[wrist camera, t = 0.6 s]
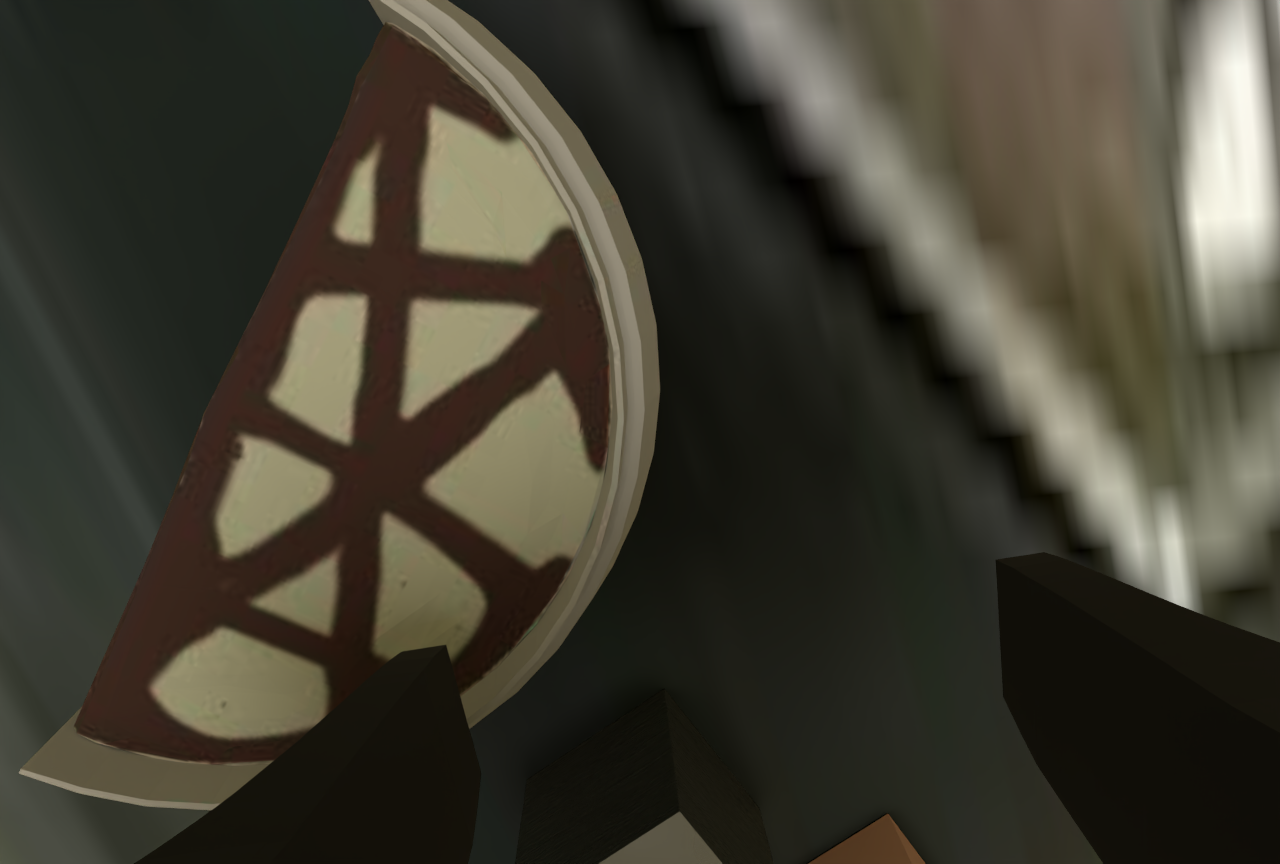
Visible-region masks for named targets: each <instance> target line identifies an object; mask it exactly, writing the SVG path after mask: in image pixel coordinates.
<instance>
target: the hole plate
mask: <svg viewBox="0 0 1280 864" xmlns="http://www.w3.org/2000/svg"><path fill="white" fill-rule="evenodd" d="M808 864H925V862H924V861H923V860H922V858H921V857H920V856H919V854H918V853H917V852H916V850H915V849H914V848H913V846H912V845H911V844H910V842H909V841H908V840H907V838H906V837H905V836H904V834H903V833H902V832H901V830H900V829H899V828H898V826H897V825H896V824H895V822H894V821H893V820H892V818H891V817H890V816H889V814H887V815H885V816H883V817H882V818H880V819H879V820H877V821H875V822H874V823H872V824H871V825H869V826H867V827H866V828H864V829H863V830H861V831H859V832H858V833H856V834H855V835H853V836H851V837H850V838H848V839H847V840H845V841H843V842H842V843H840V844H839V845H837V846H835V847H834V848H832V849H831V850H829V851H827V852H826V853H824V854H823V855H821V856H819V857H818V858H816V859H815V860H813V861H811V862H810V863H808Z"/></svg>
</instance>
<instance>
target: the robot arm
mask: <svg viewBox="0 0 1280 864" xmlns="http://www.w3.org/2000/svg"><path fill="white" fill-rule="evenodd" d="M996 573H997V591H998V609H999V628H1000V646H1001V665H1002V683H1003V697H1004V699H1005V701H1006V703H1007V705H1008V708H1009V710H1010V712H1011V714H1012V716H1013V718H1014V720H1015V722H1016V724H1017V726H1018V728H1019V730H1020V733H1021V735H1022V737H1023V738H1024V740H1025V742H1026V744H1027V746H1028V748H1029V750H1030V752H1031V754H1032V756H1033V758H1034V760H1035V762H1036V764H1037V765H1038V767H1039V768H1040V770H1041V772H1042V773H1043V775H1044V776H1045V778H1046V779H1047V781H1048V782H1049V784H1050V785H1051V787H1052V788H1053V790H1054V791H1055V793H1056V794H1057V796H1058V797H1059V799H1060V800H1061V802H1062V803H1063V805H1064V806H1065V808H1066V809H1067V811H1068V812H1069V814H1070V815H1071V817H1072V818H1073V820H1074V821H1075V823H1076V824H1077V825H1078V827H1079V828H1080V830H1081V831H1082V833H1083V834H1084V836H1085V837H1086V839H1087V840H1088V842H1089V843H1090V845H1091V846H1092V847H1093V849H1094V850H1095V852H1096V853H1097V855H1098V856H1099V858H1100V859H1101V861H1102V862H1103V864H1280V643H1279V642H1276V641H1274V640H1271V639H1268V638H1265V637H1262V636H1259V635H1257V634H1254V633H1251V632H1248V631H1245V630H1242V629H1240V628H1237V627H1234V626H1231V625H1228V624H1226V623H1223V622H1220V621H1218V620H1215V619H1212V618H1210V617H1207V616H1204V615H1202V614H1199V613H1197V612H1194V611H1192V610H1189V609H1187V608H1184V607H1181V606H1179V605H1176V604H1174V603H1172V602H1169V601H1167V600H1164V599H1162V598H1159V597H1157V596H1154V595H1152V594H1149V593H1147V592H1145V591H1142V590H1140V589H1137V588H1135V587H1133V586H1130V585H1128V584H1125V583H1123V582H1121V581H1118V580H1116V579H1113V578H1111V577H1109V576H1106V575H1104V574H1101V573H1099V572H1097V571H1094V570H1092V569H1089V568H1087V567H1084V566H1082V565H1079V564H1077V563H1074V562H1071V561H1069V560H1066V559H1063V558H1061V557H1058V556H1055V555H1051V554H1048V553H1044V552H1043V553H1037V554H1030V555H1024V556H1018V557H1011V558H1005V559H998V560H996ZM480 779H481V771H480V767H479V763H478V760H477V756H476V752H475V749H474V745H473V741H472V738H471V734H470V730H469V727H468V723H467V719H466V716H465V712H464V708H463V704H462V701H461V697H460V693H459V690H458V686H457V682H456V679H455V675H454V671H453V668H452V664H451V660H450V657H449V653H448V649H447V646H446V645H440V646H434V647H427V648H421V649H414V650H408V651H402V652H400V653H399V654H397V655H396V656H395V657H393V658H392V659H391V660H389V661H388V662H387V663H386V664H384V665H383V666H382V667H381V668H380V669H378V670H377V671H376V672H375V673H374V674H373V675H371V676H370V677H369V678H368V679H367V680H366V681H365V682H363V683H362V684H361V685H360V686H359V687H358V688H357V689H356V690H355V691H353V692H352V693H351V694H350V695H349V696H348V697H347V698H346V699H345V700H343V701H342V702H341V703H340V704H339V705H338V706H337V707H336V708H334V709H333V710H332V711H331V712H330V713H329V714H328V715H327V716H325V717H324V718H323V719H322V720H321V721H320V722H319V723H317V724H316V725H315V726H314V727H313V728H312V729H311V730H310V731H308V732H307V733H306V734H305V735H304V736H303V737H302V738H301V739H299V740H298V741H297V742H296V743H295V744H293V745H292V746H291V747H290V748H289V749H287V750H286V751H285V752H284V753H283V754H281V755H280V756H279V757H278V758H276V759H275V760H274V761H273V762H272V763H270V764H269V765H268V766H267V767H265V768H264V769H263V770H262V771H261V772H259V773H258V774H257V775H256V776H255V777H253V778H252V779H251V780H250V781H248V782H247V783H246V784H245V785H244V786H242V787H241V788H240V789H239V790H237V791H236V792H235V793H234V794H232V795H231V796H230V797H228V798H227V799H226V800H225V801H223V802H222V803H221V804H219V805H218V806H217V807H215V808H214V809H213V810H211V811H210V812H208V813H207V814H206V815H204V816H203V817H202V818H200V819H199V820H198V821H196V822H195V823H193V824H192V825H190V826H189V827H188V828H186V829H185V830H183V831H182V832H180V833H179V834H177V835H176V836H175V837H173V838H172V839H170V840H169V841H167V842H166V843H164V844H163V845H162V846H160V847H159V848H157V849H156V850H154V851H153V852H151V853H150V854H148V855H147V856H145V857H144V858H142V859H141V860H139V861H137V862H136V863H134V864H468V861H469V857H470V853H471V849H472V845H473V837H474V830H475V822H476V815H477V807H478V797H479V788H480Z"/></svg>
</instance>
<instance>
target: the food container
mask: <svg viewBox="0 0 1280 864" xmlns="http://www.w3.org/2000/svg"><path fill="white" fill-rule="evenodd" d="M369 2H370V3H371V5H372V7H373V8H374V10H375V12H376V13H377V15H378V16H379V18H380V20H381V21H382V23H383V25H384V26H383V28H382V29H381V31H380V33H379V35H378V36H377V38H376V41H375V43H374V46H373V48H372V51H371V53H370V55H369V57H368V59H367V60H366V62H365V64H364V65H363V67H362V68H361V70H360V72H359V73H358V75H357V77H356V80H355V84H354V88H353V92H352V95H351V99H350V103H349V106H348V108H347V111H346V113H345V116H344V118H343V120H342V123H341V125H340V128H339V130H338V133H337V135H336V138H335V140H334V143H333V145H332V147H331V149H330V151H329V153H328V156H327V158H326V160H325V162H324V164H323V167H322V169H321V171H320V173H319V175H318V178H317V180H316V182H315V184H314V186H313V188H312V191H311V193H310V195H309V197H308V199H307V202H306V204H305V206H304V208H303V210H302V212H301V215H300V217H299V219H298V221H297V223H296V225H295V228H294V230H293V232H292V234H291V236H290V238H289V240H288V242H287V245H286V247H285V249H284V251H283V253H282V255H281V257H280V259H279V262H278V264H277V266H276V268H275V270H274V272H273V274H272V276H271V279H270V281H269V283H268V285H267V287H266V289H265V291H264V294H263V296H262V298H261V300H260V302H259V304H258V306H257V308H256V310H255V312H254V314H253V316H252V318H251V320H250V322H249V324H248V326H247V328H246V330H245V332H244V334H243V336H242V338H241V340H240V342H239V344H238V346H237V348H236V350H235V352H234V354H233V356H232V358H231V360H230V362H229V364H228V366H227V368H226V370H225V372H224V374H223V376H222V378H221V380H220V382H219V384H218V386H217V388H216V390H215V392H214V394H213V396H212V398H211V400H210V402H209V404H208V406H207V409H206V411H205V413H204V415H203V418H202V420H201V423H200V425H199V428H198V431H197V433H196V436H195V438H194V441H193V444H192V446H191V449H190V451H189V454H188V457H187V459H186V462H185V464H184V467H183V470H182V472H181V475H180V478H179V480H178V483H177V486H176V488H175V491H174V494H173V496H172V499H171V501H170V504H169V506H168V509H167V511H166V513H165V516H164V518H163V521H162V523H161V526H160V528H159V531H158V533H157V535H156V538H155V540H154V543H153V545H152V548H151V550H150V553H149V555H148V557H147V560H146V562H145V565H144V567H143V569H142V572H141V574H140V576H139V578H138V581H137V583H136V585H135V588H134V590H133V592H132V594H131V597H130V599H129V601H128V603H127V606H126V608H125V610H124V612H123V615H122V617H121V619H120V622H119V624H118V626H117V628H116V631H115V633H114V635H113V637H112V640H111V642H110V644H109V646H108V649H107V651H106V653H105V656H104V658H103V660H102V662H101V665H100V667H99V669H98V672H97V674H96V676H95V678H94V681H93V683H92V685H91V688H90V690H89V692H88V695H87V697H86V699H85V701H84V704H83V706H82V707H81V708H80V709H79V710H78V711H77V712H76V713H75V714H74V715H73V716H72V717H71V718H70V719H69V720H68V721H67V722H66V723H65V724H64V725H63V726H62V727H61V729H60V730H59V731H58V732H57V733H56V734H55V735H54V736H53V737H52V738H51V739H50V740H49V741H48V742H47V743H46V744H45V745H44V746H43V747H42V748H41V749H40V750H39V751H38V752H37V753H36V754H35V755H34V756H33V757H32V758H31V759H30V760H29V761H28V762H27V763H26V764H25V765H24V766H23V767H22V768H21V769H20V772H19V774H22V775H25V776H28V777H31V778H34V779H37V780H40V781H43V782H46V783H49V784H52V785H55V786H58V787H61V788H64V789H68V790H71V791H74V792H77V793H80V794H85V795H90V796H95V797H100V798H105V799H111V800H116V801H121V802H126V803H131V804H136V805H141V806H150V807H166V808H182V809H198V810H213V809H214V808H215V807H217V806H218V805H219V804H221V803H222V802H223V801H225V800H226V799H227V798H228V797H230V796H231V795H232V794H234V793H235V792H236V791H237V790H239V789H240V788H241V787H242V786H244V785H245V784H246V783H247V782H248V781H250V780H251V779H252V778H253V777H255V776H256V775H257V774H258V773H259V772H261V771H262V770H263V769H264V768H265V767H267V766H268V765H269V764H270V763H272V762H273V761H274V760H275V759H276V758H278V757H279V756H280V755H281V754H283V753H284V752H285V751H286V750H287V749H289V748H290V747H291V746H292V745H293V744H295V743H296V742H297V741H298V740H299V739H301V738H302V737H303V736H304V735H305V734H306V733H307V732H308V731H310V730H311V729H312V728H313V727H314V726H315V725H316V724H317V723H319V722H320V721H321V720H322V719H323V718H324V717H325V716H327V715H328V714H329V713H330V712H331V711H332V710H333V709H334V708H336V707H337V706H338V705H339V704H340V703H341V702H342V701H343V700H345V699H346V698H347V697H348V696H349V695H350V694H351V693H352V692H353V691H355V690H356V689H357V688H358V687H359V686H360V685H361V684H362V683H363V682H365V681H366V680H367V679H368V678H369V677H370V676H371V675H373V674H374V673H375V672H376V671H377V670H378V669H380V668H381V667H382V666H383V665H384V664H386V663H387V662H388V661H389V660H391V659H392V658H393V657H395V656H396V655H397V654H399V653H400V652H402V651H408V650H414V649H421V648H427V647H434V646H440V645H446V646H447V649H448V653H449V657H450V660H451V664H452V668H453V671H454V675H455V679H456V682H457V686H458V690H459V693H460V697H461V701H462V704H463V708H464V712H465V716H466V719H467V723H468V727H469V729H470V728H471V727H472V726H474V725H475V724H476V723H478V722H479V721H480V720H481V719H483V718H484V717H485V716H487V715H488V714H489V713H491V712H492V711H493V710H495V709H496V708H497V707H498V706H500V705H501V704H502V703H504V702H505V701H506V700H508V699H509V698H510V697H512V696H513V695H514V694H515V693H517V692H518V691H519V690H520V689H521V688H522V686H523V685H524V684H525V683H526V682H527V681H528V680H529V679H530V678H531V677H532V676H533V675H534V674H535V673H536V672H537V671H538V670H539V669H540V667H541V666H542V665H543V664H544V663H545V662H546V661H547V660H548V659H549V658H550V657H551V656H552V655H553V654H554V653H555V652H556V651H557V650H558V648H559V647H560V646H561V644H562V643H563V641H564V640H565V638H566V637H567V635H568V634H569V633H570V631H571V630H572V628H573V627H574V625H575V624H576V622H577V621H578V619H579V618H580V616H581V615H582V613H583V612H584V610H585V609H586V607H587V606H588V605H589V603H590V602H591V600H592V599H593V597H594V596H595V594H596V592H597V591H598V589H599V588H600V586H601V584H602V583H603V581H604V580H605V578H606V576H607V575H608V573H609V572H610V570H611V568H612V567H613V565H614V563H615V561H616V558H617V556H618V554H619V552H620V550H621V547H622V545H623V543H624V541H625V539H626V536H627V534H628V532H629V530H630V528H631V525H632V523H633V521H634V519H635V517H636V514H637V512H638V509H639V505H640V502H641V498H642V494H643V491H644V487H645V483H646V479H647V476H648V472H649V468H650V465H651V461H652V457H653V454H654V446H655V436H656V426H657V416H658V407H659V397H660V378H659V361H658V343H657V326H656V321H655V316H654V312H653V307H652V302H651V298H650V293H649V289H648V284H647V280H646V275H645V270H644V266H643V261H642V258H641V255H640V253H639V250H638V247H637V245H636V242H635V240H634V237H633V235H632V232H631V229H630V227H629V224H628V222H627V219H626V216H625V214H624V211H623V209H622V206H621V204H620V201H619V198H618V196H617V193H616V192H615V190H614V188H613V187H612V185H611V183H610V181H609V180H608V178H607V176H606V174H605V173H604V171H603V169H602V167H601V166H600V164H599V162H598V161H597V159H596V157H595V155H594V154H593V152H592V150H591V148H590V147H589V145H588V143H587V141H586V140H585V138H584V136H583V135H582V133H581V131H580V130H579V129H578V127H577V126H576V125H575V124H574V122H573V121H572V120H571V119H570V117H569V116H568V115H567V114H566V112H565V111H564V110H563V109H562V107H561V106H560V105H559V104H558V102H557V101H556V100H555V99H554V97H553V96H552V95H551V94H550V92H549V91H548V90H547V89H546V87H545V86H544V85H543V83H542V82H541V81H540V80H539V78H538V77H537V76H536V75H535V73H534V72H532V71H531V70H530V69H529V68H528V67H527V66H526V65H525V64H524V63H523V62H522V61H521V60H519V59H518V58H517V57H516V56H515V55H514V54H513V53H512V52H511V51H510V50H509V49H508V48H507V47H505V46H504V45H503V44H502V43H501V42H500V41H499V40H498V39H497V38H496V37H495V36H494V35H492V34H491V33H490V32H489V31H488V30H487V29H486V28H485V27H484V26H483V25H482V24H481V23H479V22H478V21H477V20H476V19H474V18H473V17H471V16H470V15H468V14H467V13H465V12H464V11H462V10H461V9H459V8H458V7H456V6H455V5H454V4H452V3H451V2H449V1H448V0H369Z"/></svg>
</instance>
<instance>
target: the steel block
mask: <svg viewBox="0 0 1280 864" xmlns="http://www.w3.org/2000/svg"><path fill="white" fill-rule="evenodd" d="M515 864H774V863H773V859H772V855H771V851H770V847H769V844H768V840H767V836H766V832H765V828H764V824H763V820H762V817H761V813H760V809H759V807H758V806H757V805H756V803H755V802H754V801H753V800H752V798H751V797H750V796H749V795H748V793H747V792H746V791H745V790H744V788H743V787H742V786H741V785H740V783H739V782H738V781H737V779H736V778H735V777H734V776H733V774H732V773H731V772H730V771H729V769H728V768H727V767H726V766H725V764H724V763H723V762H722V761H721V759H720V758H719V757H718V756H717V754H716V753H715V752H714V750H713V749H712V748H711V747H710V745H709V744H708V743H707V742H706V740H705V739H704V738H703V737H702V735H701V734H700V733H699V732H698V730H697V729H696V728H695V727H694V725H693V724H692V723H691V721H690V720H689V719H688V718H687V716H686V715H685V714H684V713H683V711H682V710H681V709H680V708H679V706H678V705H677V704H676V703H675V701H674V700H673V699H672V698H671V696H670V695H669V694H668V693H667V691H666V690H665V689H663V690H661V691H660V692H658V693H657V694H655V695H654V696H652V697H651V698H649V699H648V700H646V701H645V702H643V703H642V704H640V705H639V706H637V707H636V708H634V709H633V710H631V711H630V712H628V713H627V714H625V715H624V716H622V717H621V718H619V719H618V720H616V721H615V722H613V723H612V724H610V725H609V726H607V727H606V728H604V729H603V730H601V731H600V732H598V733H597V734H595V735H594V736H592V737H591V738H589V739H588V740H586V741H585V742H583V743H582V744H580V745H579V746H577V747H576V748H574V749H573V750H571V751H570V752H568V753H567V754H565V755H564V756H562V757H561V758H559V759H557V760H556V761H554V762H553V763H551V764H550V765H548V766H547V767H545V768H544V769H542V770H541V771H539V772H538V773H536V774H535V775H533V776H532V777H530V778H529V779H527V783H526V790H525V797H524V804H523V811H522V818H521V825H520V833H519V840H518V847H517V854H516V861H515Z"/></svg>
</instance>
